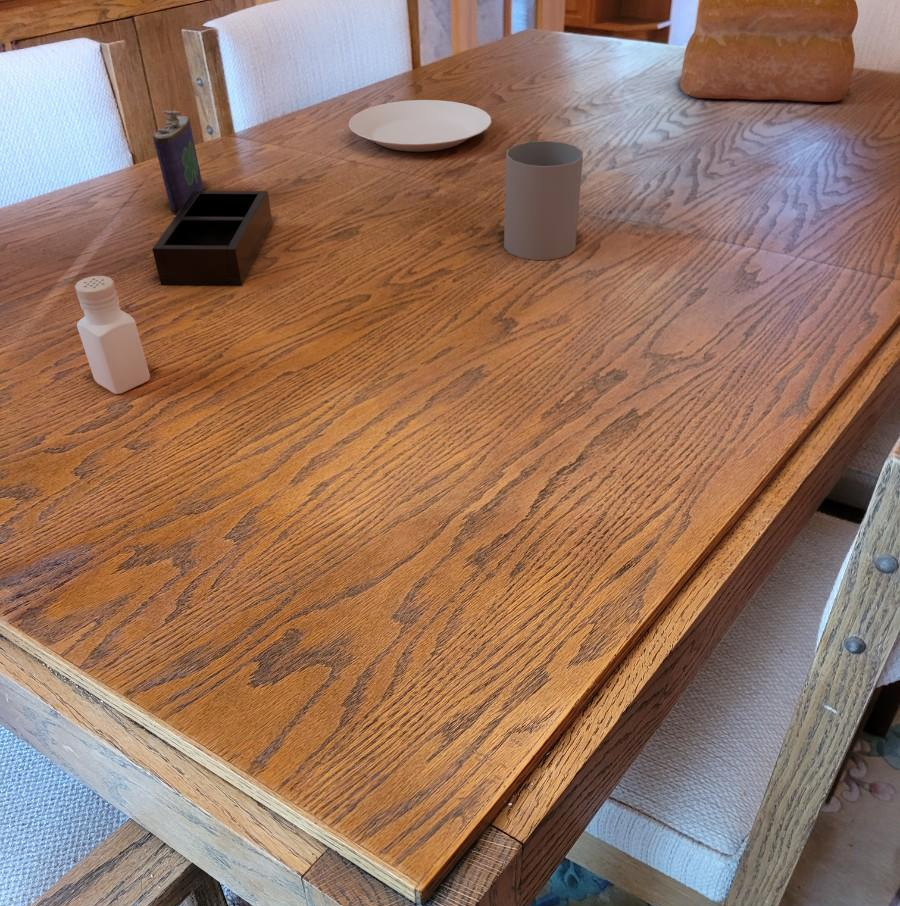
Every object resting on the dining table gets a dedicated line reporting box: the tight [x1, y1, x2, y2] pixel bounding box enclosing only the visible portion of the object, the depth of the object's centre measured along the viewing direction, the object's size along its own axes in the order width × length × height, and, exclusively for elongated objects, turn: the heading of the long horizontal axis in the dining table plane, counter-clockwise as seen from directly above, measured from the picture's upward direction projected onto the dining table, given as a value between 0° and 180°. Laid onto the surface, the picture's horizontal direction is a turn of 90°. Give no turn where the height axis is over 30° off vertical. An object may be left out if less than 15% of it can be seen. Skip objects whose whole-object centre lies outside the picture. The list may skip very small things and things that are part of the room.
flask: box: [152, 109, 205, 215], centre depth 112 cm, size 9×3×11 cm, turn 175°
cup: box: [503, 140, 584, 261], centre depth 101 cm, size 8×8×10 cm
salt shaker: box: [74, 275, 151, 395], centre depth 80 cm, size 4×4×10 cm
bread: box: [679, 0, 859, 103], centre depth 142 cm, size 14×26×15 cm, turn 80°
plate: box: [348, 99, 492, 153], centre depth 133 cm, size 21×21×2 cm
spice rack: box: [151, 190, 273, 287], centre depth 103 cm, size 9×17×4 cm, turn 177°
